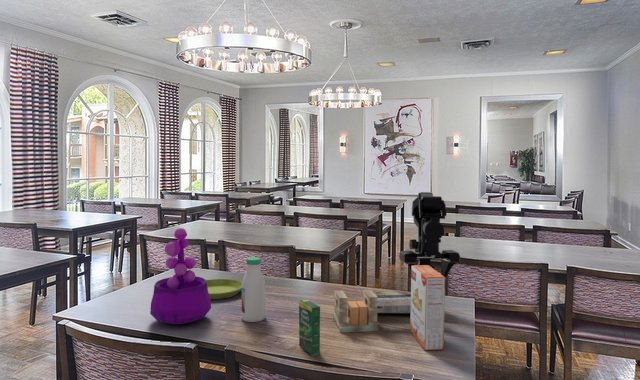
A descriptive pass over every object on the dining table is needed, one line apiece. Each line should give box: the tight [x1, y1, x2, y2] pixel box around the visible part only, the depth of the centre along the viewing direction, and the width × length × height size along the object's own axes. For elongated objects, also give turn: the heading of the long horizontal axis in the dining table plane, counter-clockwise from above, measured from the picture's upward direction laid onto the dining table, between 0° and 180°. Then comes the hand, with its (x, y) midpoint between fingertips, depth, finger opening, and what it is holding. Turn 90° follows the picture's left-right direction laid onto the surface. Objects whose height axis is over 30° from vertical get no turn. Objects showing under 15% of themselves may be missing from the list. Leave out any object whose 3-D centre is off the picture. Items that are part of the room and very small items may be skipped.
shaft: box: [377, 297, 411, 306], centre depth 145 cm, size 20×3×10 cm, turn 99°
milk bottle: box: [241, 256, 266, 323], centre depth 147 cm, size 8×8×20 cm
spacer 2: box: [355, 300, 368, 325], centre depth 144 cm, size 2×6×6 cm, turn 7°
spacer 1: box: [347, 300, 359, 326], centre depth 143 cm, size 2×6×6 cm, turn 7°
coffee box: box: [372, 290, 411, 314], centre depth 155 cm, size 9×6×16 cm
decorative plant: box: [149, 227, 212, 325], centre depth 144 cm, size 19×18×30 cm
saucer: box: [205, 278, 242, 300], centre depth 175 cm, size 21×21×3 cm
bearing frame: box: [332, 289, 380, 334], centre depth 143 cm, size 12×12×10 cm
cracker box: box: [409, 265, 446, 351], centre depth 131 cm, size 14×6×21 cm, turn 5°
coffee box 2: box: [298, 299, 321, 357], centre depth 124 cm, size 8×3×13 cm, turn 28°
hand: (428, 282), depth 147 cm, fingers open, 9 cm apart
